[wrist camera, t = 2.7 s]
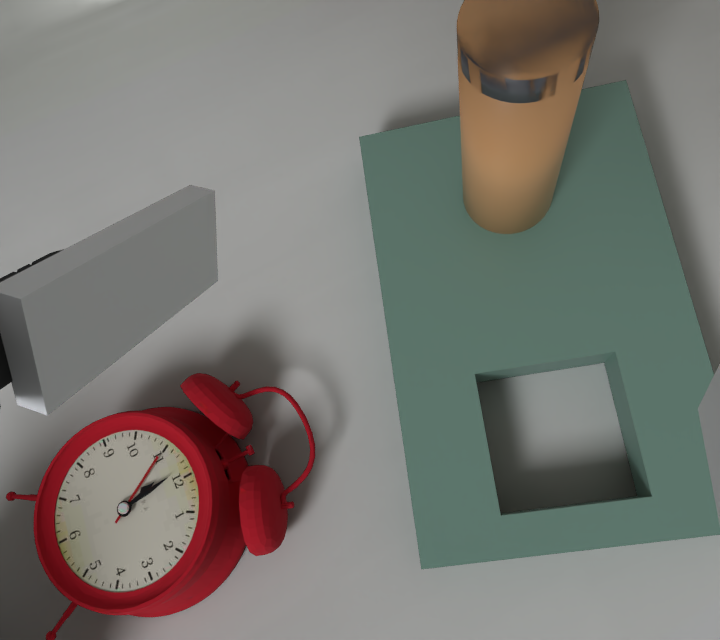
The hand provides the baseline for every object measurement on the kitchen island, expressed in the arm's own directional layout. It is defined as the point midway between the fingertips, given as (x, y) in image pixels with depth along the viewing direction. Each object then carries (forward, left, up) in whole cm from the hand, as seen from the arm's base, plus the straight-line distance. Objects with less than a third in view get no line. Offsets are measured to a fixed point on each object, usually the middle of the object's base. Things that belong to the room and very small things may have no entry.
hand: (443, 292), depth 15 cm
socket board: (-3, +4, -17) cm, 17 cm away
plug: (-9, +4, -14) cm, 17 cm away
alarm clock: (+3, -15, -17) cm, 23 cm away
